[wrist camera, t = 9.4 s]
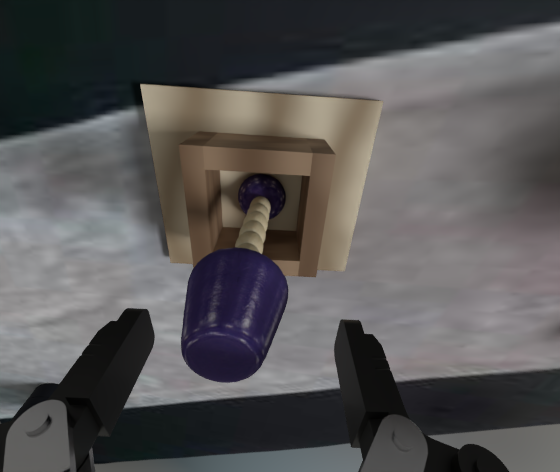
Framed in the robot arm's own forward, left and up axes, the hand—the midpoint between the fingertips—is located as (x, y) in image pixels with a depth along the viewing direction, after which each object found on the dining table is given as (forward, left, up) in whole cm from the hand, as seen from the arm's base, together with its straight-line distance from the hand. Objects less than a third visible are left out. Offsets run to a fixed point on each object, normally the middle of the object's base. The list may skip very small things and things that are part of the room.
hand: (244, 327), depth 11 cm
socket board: (0, 0, -16) cm, 16 cm away
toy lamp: (0, 0, -15) cm, 15 cm away
